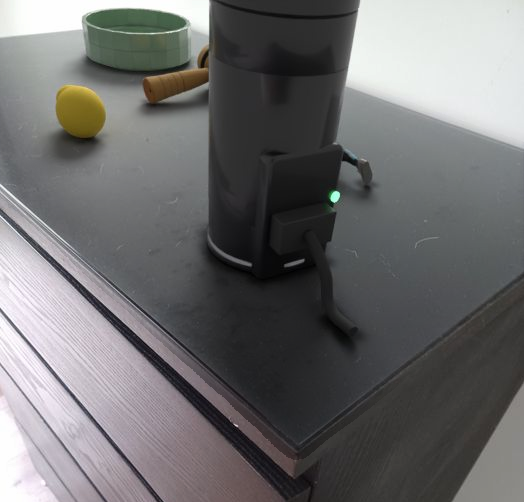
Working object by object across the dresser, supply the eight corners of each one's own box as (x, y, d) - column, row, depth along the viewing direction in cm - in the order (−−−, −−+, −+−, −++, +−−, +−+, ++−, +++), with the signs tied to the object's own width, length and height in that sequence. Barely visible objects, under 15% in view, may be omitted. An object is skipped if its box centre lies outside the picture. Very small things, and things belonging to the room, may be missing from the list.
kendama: (168, 126, 64) (288, 87, 70) (154, 69, 60) (283, 33, 67) (144, 116, 70) (257, 81, 76) (129, 63, 66) (250, 30, 72)
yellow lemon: (114, 112, 54) (90, 57, 55) (64, 118, 52) (41, 60, 53) (110, 155, 60) (89, 104, 61) (65, 161, 58) (44, 109, 59)
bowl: (207, 69, 78) (208, 30, 74) (106, 78, 72) (101, 36, 68) (167, 41, 87) (165, 6, 84) (74, 47, 81) (68, 9, 77)
